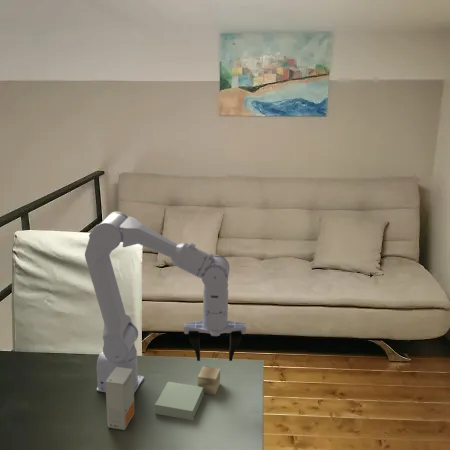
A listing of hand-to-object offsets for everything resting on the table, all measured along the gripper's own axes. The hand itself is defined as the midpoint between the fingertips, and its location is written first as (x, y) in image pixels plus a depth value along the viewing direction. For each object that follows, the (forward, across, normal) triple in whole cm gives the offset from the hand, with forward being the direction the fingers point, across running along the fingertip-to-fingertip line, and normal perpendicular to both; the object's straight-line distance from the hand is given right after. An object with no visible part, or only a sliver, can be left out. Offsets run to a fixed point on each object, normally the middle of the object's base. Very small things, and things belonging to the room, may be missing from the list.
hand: (214, 358), depth 121 cm
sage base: (+10, -8, -5) cm, 13 cm away
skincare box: (+10, -21, -10) cm, 25 cm away
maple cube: (+10, -1, +2) cm, 10 cm away
